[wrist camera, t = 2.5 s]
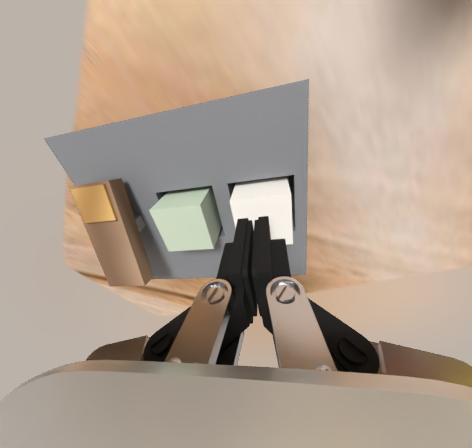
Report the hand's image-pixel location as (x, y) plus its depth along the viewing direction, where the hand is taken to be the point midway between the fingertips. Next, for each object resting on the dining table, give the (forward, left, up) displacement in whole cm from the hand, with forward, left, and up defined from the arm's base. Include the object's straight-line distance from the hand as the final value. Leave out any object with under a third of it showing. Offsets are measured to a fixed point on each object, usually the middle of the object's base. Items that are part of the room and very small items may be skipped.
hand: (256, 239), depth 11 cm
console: (+5, 0, -8) cm, 9 cm away
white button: (0, 0, -5) cm, 5 cm away
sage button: (+5, 0, -5) cm, 7 cm away
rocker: (+11, 0, -2) cm, 11 cm away
